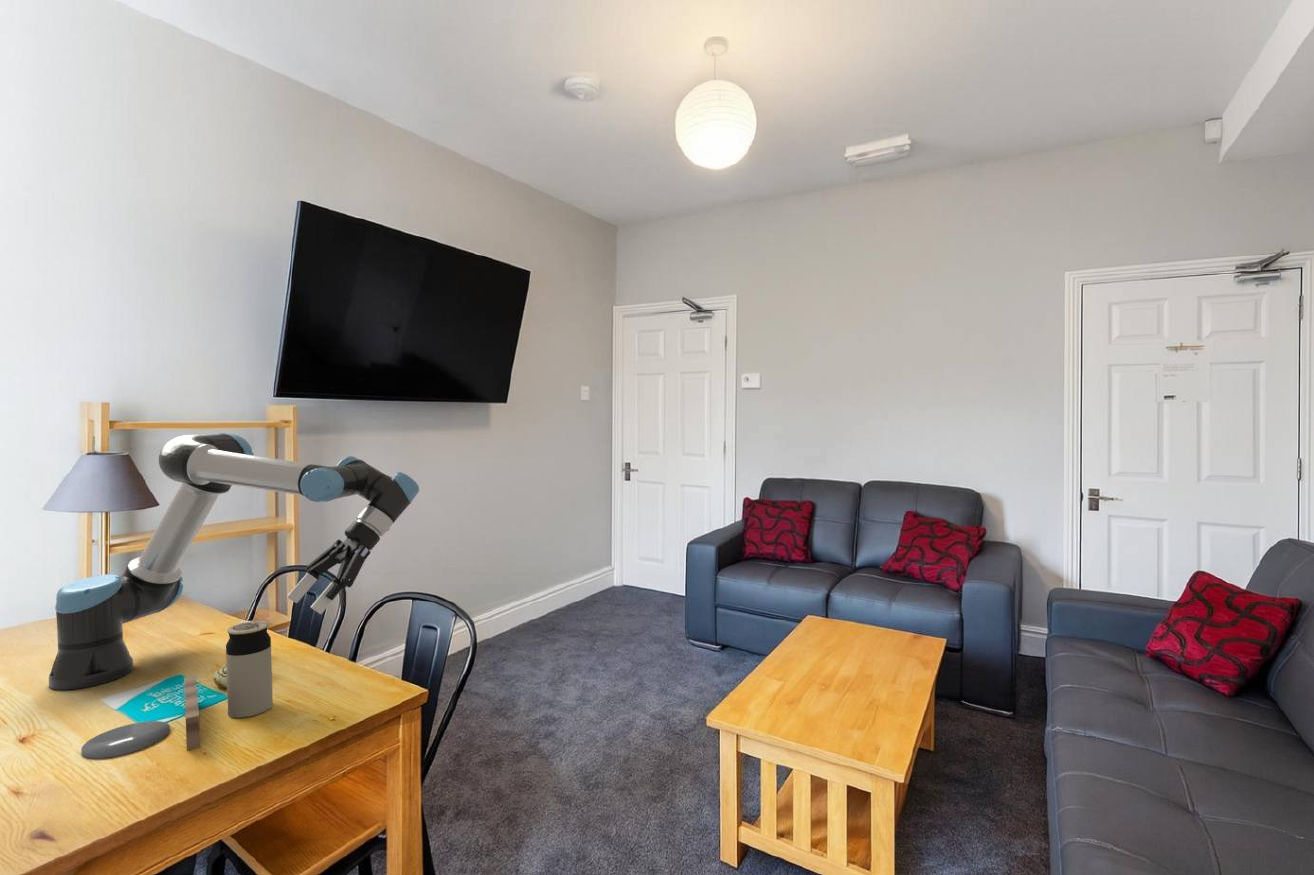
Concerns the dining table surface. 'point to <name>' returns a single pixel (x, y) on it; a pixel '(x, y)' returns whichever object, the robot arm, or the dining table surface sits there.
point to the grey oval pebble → (125, 739)
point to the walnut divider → (191, 713)
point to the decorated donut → (221, 678)
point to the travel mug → (249, 669)
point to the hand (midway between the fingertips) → (303, 605)
